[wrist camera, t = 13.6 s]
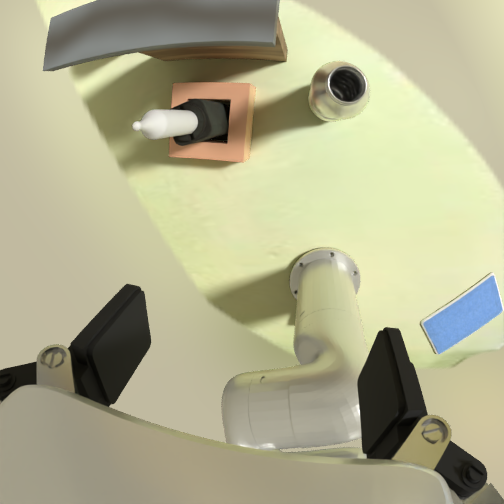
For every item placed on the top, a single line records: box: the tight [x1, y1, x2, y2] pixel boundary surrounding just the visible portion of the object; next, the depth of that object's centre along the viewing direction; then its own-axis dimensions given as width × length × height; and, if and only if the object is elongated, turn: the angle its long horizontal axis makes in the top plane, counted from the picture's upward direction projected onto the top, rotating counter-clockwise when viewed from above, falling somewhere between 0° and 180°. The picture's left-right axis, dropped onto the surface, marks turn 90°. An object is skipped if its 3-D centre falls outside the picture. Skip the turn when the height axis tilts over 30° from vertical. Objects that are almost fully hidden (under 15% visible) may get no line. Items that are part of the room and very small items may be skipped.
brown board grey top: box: [43, 0, 287, 71], centre depth 28 cm, size 6×22×26 cm, turn 85°
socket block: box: [169, 82, 256, 162], centre depth 42 cm, size 12×12×5 cm
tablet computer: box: [421, 272, 503, 354], centre depth 50 cm, size 19×13×1 cm, turn 130°
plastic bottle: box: [308, 61, 370, 122], centre depth 31 cm, size 6×7×20 cm
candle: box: [132, 98, 230, 146], centre depth 33 cm, size 5×5×25 cm
